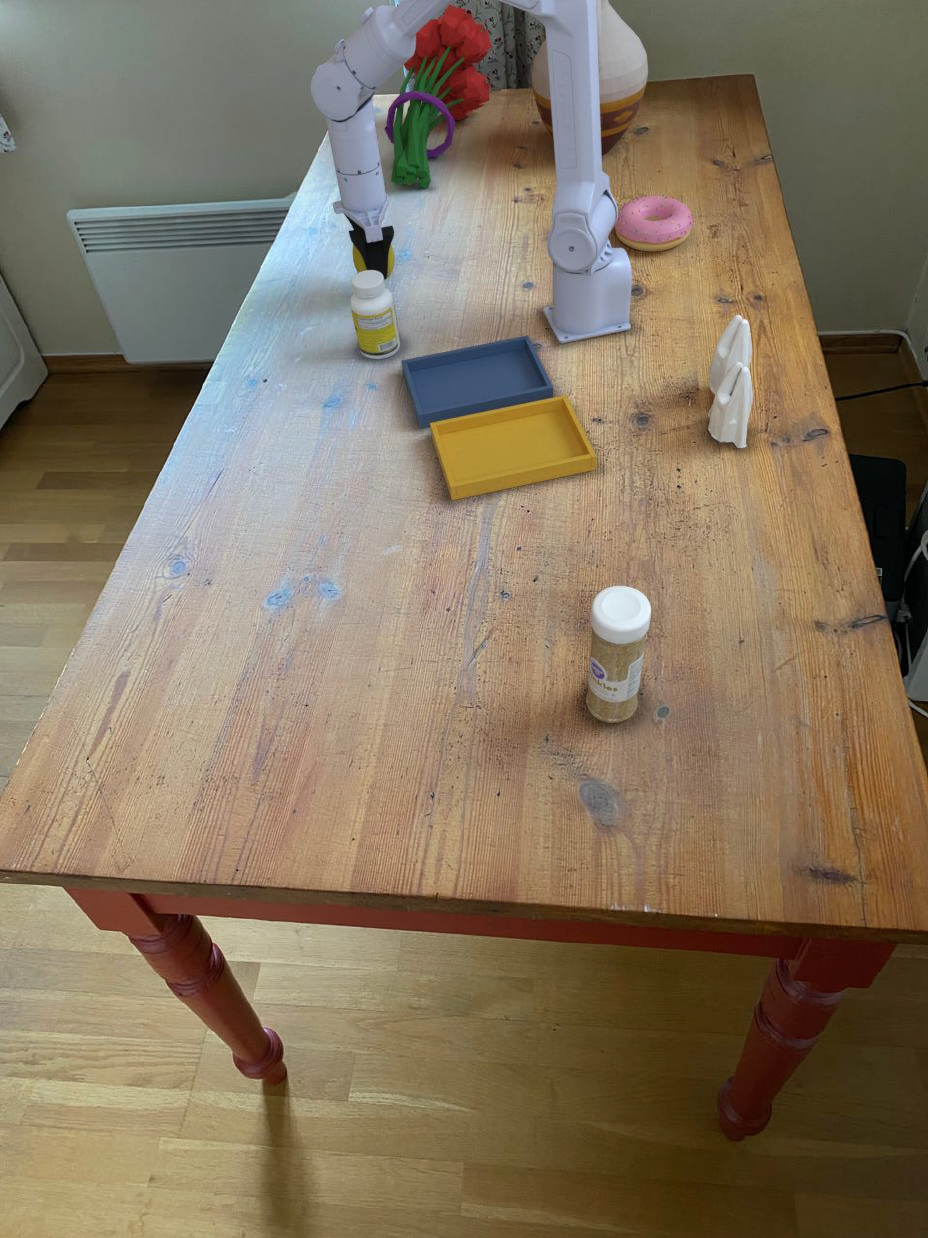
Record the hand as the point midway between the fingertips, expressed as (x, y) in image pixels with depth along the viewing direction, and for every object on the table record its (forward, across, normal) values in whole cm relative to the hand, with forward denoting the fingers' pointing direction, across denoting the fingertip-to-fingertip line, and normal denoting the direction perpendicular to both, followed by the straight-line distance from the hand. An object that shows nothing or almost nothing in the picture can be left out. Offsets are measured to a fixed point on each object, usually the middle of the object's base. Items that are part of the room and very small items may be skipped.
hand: (375, 267), depth 120 cm
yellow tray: (+4, +38, +9) cm, 39 cm away
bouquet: (+4, -40, +16) cm, 43 cm away
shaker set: (+4, +39, +34) cm, 52 cm away
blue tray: (+4, +25, +8) cm, 26 cm away
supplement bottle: (+4, +13, -2) cm, 14 cm away
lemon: (+3, 0, 0) cm, 3 cm away
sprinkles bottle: (+4, +73, +9) cm, 74 cm away
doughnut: (+4, -1, +40) cm, 40 cm away
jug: (+4, -31, +40) cm, 51 cm away
